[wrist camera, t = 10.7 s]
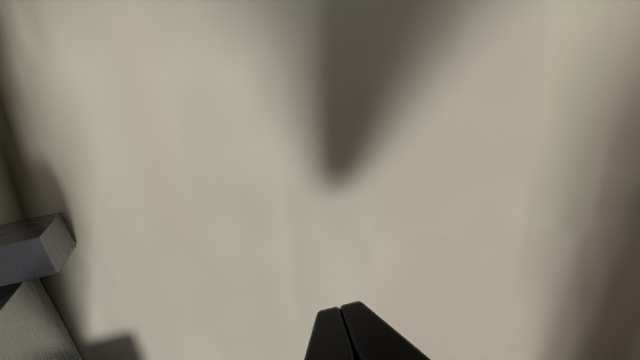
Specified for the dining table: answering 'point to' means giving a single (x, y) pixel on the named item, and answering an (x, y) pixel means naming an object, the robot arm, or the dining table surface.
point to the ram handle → (32, 325)
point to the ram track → (34, 248)
